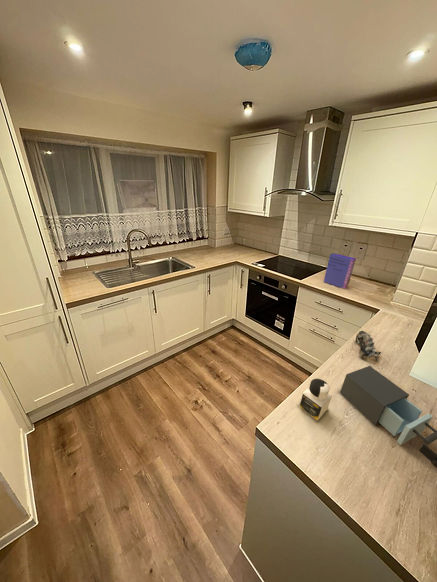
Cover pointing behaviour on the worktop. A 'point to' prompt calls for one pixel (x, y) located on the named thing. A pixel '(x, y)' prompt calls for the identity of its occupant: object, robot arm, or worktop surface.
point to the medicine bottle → (316, 398)
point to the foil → (364, 342)
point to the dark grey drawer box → (371, 392)
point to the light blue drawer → (406, 421)
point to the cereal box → (339, 270)
